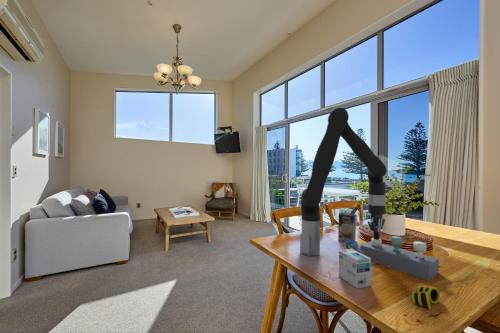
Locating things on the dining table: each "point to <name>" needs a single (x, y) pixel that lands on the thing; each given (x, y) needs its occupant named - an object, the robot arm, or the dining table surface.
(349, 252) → the light bulb box
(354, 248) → the label tape cartridge
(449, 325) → the dining table surface
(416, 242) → the outer knob
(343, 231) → the coffee box
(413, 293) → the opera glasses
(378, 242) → the inner knob
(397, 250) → the middle knob
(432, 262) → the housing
